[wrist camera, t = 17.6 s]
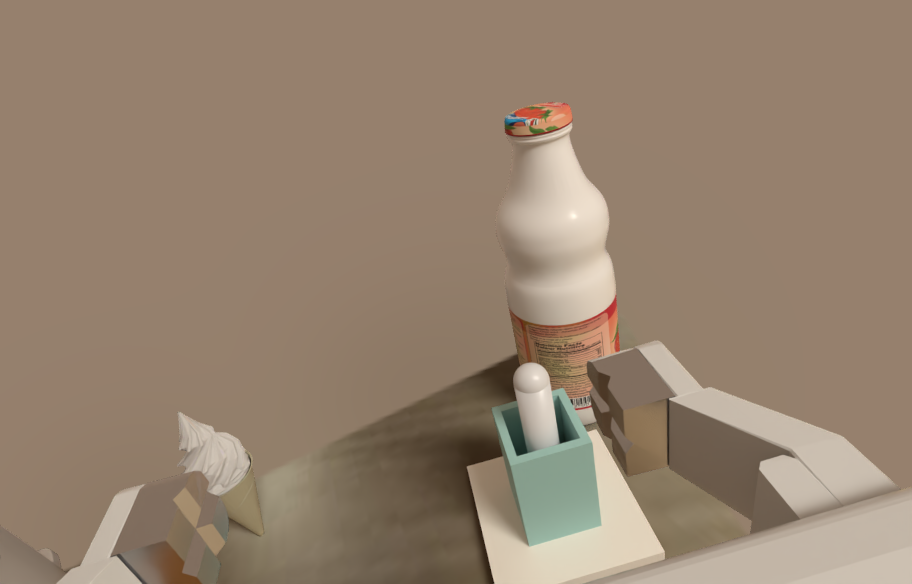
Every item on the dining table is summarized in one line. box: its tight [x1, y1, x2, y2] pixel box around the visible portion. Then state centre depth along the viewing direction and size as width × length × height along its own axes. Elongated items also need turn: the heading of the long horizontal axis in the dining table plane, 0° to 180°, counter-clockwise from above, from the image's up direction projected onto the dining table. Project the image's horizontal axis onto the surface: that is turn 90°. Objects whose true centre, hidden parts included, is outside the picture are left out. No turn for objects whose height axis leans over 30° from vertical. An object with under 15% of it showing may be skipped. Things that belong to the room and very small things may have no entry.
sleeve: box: [491, 388, 602, 547], centre depth 39 cm, size 6×6×9 cm
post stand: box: [467, 363, 665, 584], centre depth 38 cm, size 12×12×15 cm
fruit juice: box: [495, 102, 620, 425], centre depth 45 cm, size 9×9×28 cm
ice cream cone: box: [177, 412, 264, 536], centre depth 42 cm, size 5×5×15 cm
